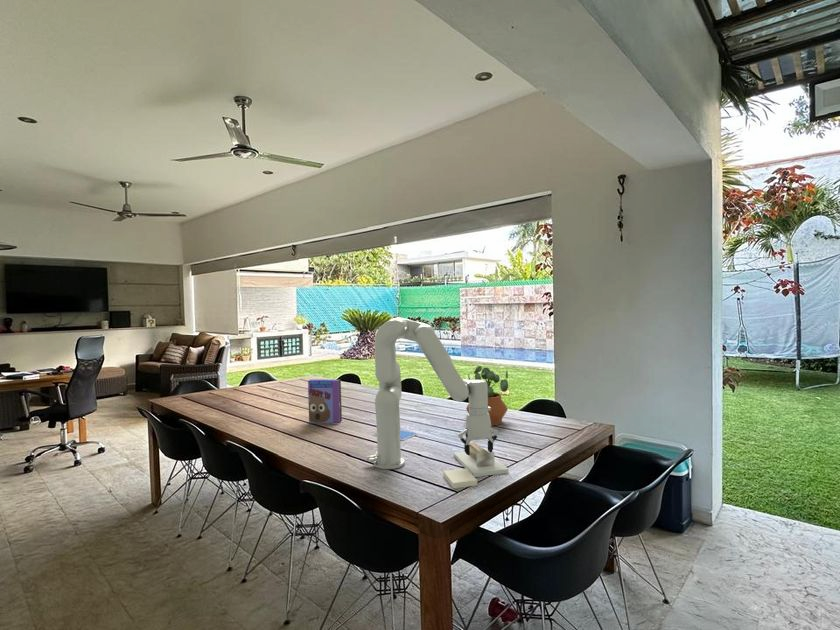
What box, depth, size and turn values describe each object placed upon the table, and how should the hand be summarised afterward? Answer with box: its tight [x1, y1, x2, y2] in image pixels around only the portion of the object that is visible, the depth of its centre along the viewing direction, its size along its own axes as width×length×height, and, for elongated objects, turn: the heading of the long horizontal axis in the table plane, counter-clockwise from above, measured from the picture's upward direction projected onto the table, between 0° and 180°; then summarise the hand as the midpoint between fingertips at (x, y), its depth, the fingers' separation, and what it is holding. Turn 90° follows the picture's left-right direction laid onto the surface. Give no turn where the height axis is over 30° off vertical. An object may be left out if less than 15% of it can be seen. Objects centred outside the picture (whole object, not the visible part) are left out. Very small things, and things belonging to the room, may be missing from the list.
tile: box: [442, 467, 478, 489], centre depth 164 cm, size 9×2×12 cm
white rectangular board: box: [453, 451, 509, 478], centre depth 180 cm, size 14×24×2 cm, turn 14°
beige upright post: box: [469, 441, 495, 467], centre depth 180 cm, size 7×15×5 cm, turn 14°
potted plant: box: [466, 365, 509, 427], centre depth 240 cm, size 23×28×30 cm
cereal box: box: [307, 379, 343, 424], centre depth 250 cm, size 17×5×24 cm, turn 83°
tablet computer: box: [373, 429, 418, 441], centre depth 224 cm, size 19×13×1 cm, turn 54°
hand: (478, 453), depth 180 cm, fingers open, 9 cm apart
